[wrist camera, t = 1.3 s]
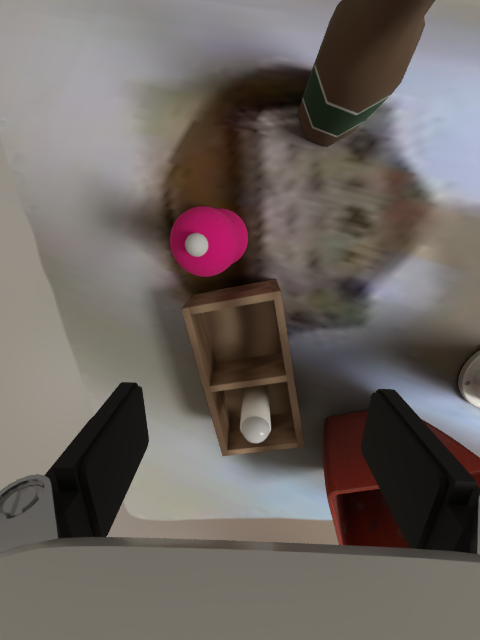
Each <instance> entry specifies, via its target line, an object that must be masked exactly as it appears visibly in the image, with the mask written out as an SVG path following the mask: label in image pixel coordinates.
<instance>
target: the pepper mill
mask: <svg viewBox="0 0 480 640" xmlns="http://www.w3.org/2000/svg"><path fill="white" fill-rule="evenodd" d="M247 243H248V233H247V229H246V226H245V224H244V222H243V221H242V219H241V218H240V217H239V216H238V215H237V214H235V213H234V212H232V211H230V210H227V209H214V208H212V207H203V206H200V207H194V208H191V209H189V210H187V211H185V212H184V213H182V214H181V215H180V216H179V217H178V218H177V220H176V221H175V223H174V225H173V227H172V230H171V234H170V247H171V251H172V253H173V256H174V258H175V259H176V261H177V263H178V264H179V265H180V266H181V267H182V268H183V269H184V270H186V271H188V272H189V273H191V274H194V275H197V276H202V277H208V276H214V275H217V274H219V273H221V272H223V271H224V270H226V269H227V268H228V267H229V266H230V265H231V264H233V263H234V262H236V261H237V260H238V259H240V258H241V256H242V255H243V254H244V252H245V250H246V247H247Z"/></svg>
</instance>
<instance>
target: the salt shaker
mask: <svg viewBox="0 0 480 640" xmlns="http://www.w3.org/2000/svg"><path fill="white" fill-rule="evenodd" d="M240 430H241V433H242V434H243V436H244V437H245V439H246V440H248V441H249V442H251V443H260V442H263V441H264V440H265V439H266V438H267V436H268V435H269V433H270V431H271V421H270V408H269V396H268V388H267V386H266V385H259V386H251V387H244V388H243V394H242V407H241V421H240Z"/></svg>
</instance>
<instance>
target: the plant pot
mask: <svg viewBox="0 0 480 640" xmlns="http://www.w3.org/2000/svg"><path fill="white" fill-rule="evenodd" d="M367 414H368V410H365V411H360V412H354V413H349V414H343V415H338V416H332V417H329V418H327V419H326V420H325V424H324V431H323V465H324V477H325V486H326V493H327V498H328V503H329V507H330V511H331V514H332V518H333V522H334V526H335V530H336V534H337V538H338V542H339V545H350V546H372V547H394V548H410V547H409V546H408V544H407V542H406V540H405V538H404V536H403V534H402V532H401V530H400V528H399V526H398V524H397V522H396V520H395V518H394V516H393V514H392V512H391V510H390V508H389V506H388V504H387V502H386V500H385V498H384V496H383V494H382V492H381V490H380V488H379V486H378V484H377V482H376V480H375V478H374V476H373V474H372V472H371V470H370V468H369V466H368V464H367V463H366V461H365V459H364V457H363V454H362V451H361V441H362V437H363V432H364V428H365V423H366V419H367ZM421 420H422V419H421ZM422 421H423V422H424V423H425V424H426V425H427V426H428V428H429V429H430V430H431V431H432V432H433V433H434V434H435V435H436V436H437V438H438V439H439V440H440V441H441V442H442V443H443V444H444V445H445V446H446V448H447V449H448V450H449V451H450V452H451V453H452V454H453V455H454V457H455V458H456V459H457V460H458V461H459V462H460V463H461V464H462V465H463V467H464V468H465V469H466V470H467V471H468V472H469V473H470V474H471V475H472V477H473V478H474V479H475V480H476V481H477V483H476V485H477V486H478V487H479V488H480V458H479V457H478V456H477V455H475V454H474V453H473V452H471V451H470V450H468V449H467V448H466V447H464V446H463V445H461V444H460V443H459V442H457V441H456V440H454V439H453V438H451V437H450V436H448V435H447V434H445V433H444V432H442V431H440V430H439V429H437V428H435V427H434V426H432V425H431V424H429V423H427V422H425V421H424V420H422Z"/></svg>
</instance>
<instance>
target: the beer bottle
mask: <svg viewBox="0 0 480 640" xmlns="http://www.w3.org/2000/svg"><path fill="white" fill-rule="evenodd" d="M434 1H435V0H342V1H341V2H340V3H339V4H338V5H337V7H336V9H335V11H334V13H333V16H332V18H331V20H330V22H329V25H328V28H327V30H326V33H325V36H324V39H323V41H322V44H321V47H320V50H319V52H318V55H317V58H316V61H315V63H314V66H313V69H312V72H311V74H310V77H309V80H308V83H307V86H306V89H305V92H304V95H303V98H302V101H301V104H300V107H299V110H298V118H299V120H300V123H301V126H302V129H303V131H304V134H305V137H306V139H308V140H310V141H313V142H316V143H318V144H321V145H324V146H326V147H328V146H330V145H332V144H333V143H335V142H337V141H339V140H340V139H342V138H344V137H346V136H348V135H349V134H351V133H352V132H353V131H354V130H356V129H357V128H358V127H359V126H360V125H361V124H362V123H363V122H364V121H365V120H366V119H367V118H368V117H369V116H370V115H371V114H372V113H373V112H374V111H375V110H376V109H377V108H378V107H379V106H380V105H381V104H382V103H383V102H384V101H385V100H386V99H387V98H388V97H389V96H390V95H391V94H392V93H393V92H394V90H395V89H396V88H397V87H398V85H399V84H400V83H401V81H402V79H403V77H404V74H405V72H406V70H407V67H408V65H409V63H410V61H411V58H412V56H413V54H414V51H415V49H416V47H417V44H418V42H419V40H420V37H421V35H422V32H423V29H424V26H425V21H424V15H425V14H426V13H427V11H428V10H429V8H430V7H431V5H432V4H433V3H434Z"/></svg>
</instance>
